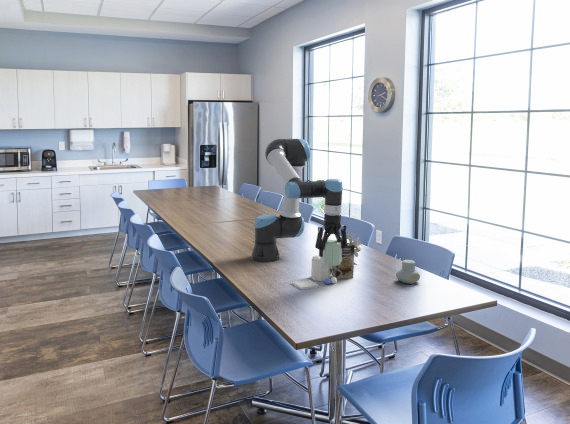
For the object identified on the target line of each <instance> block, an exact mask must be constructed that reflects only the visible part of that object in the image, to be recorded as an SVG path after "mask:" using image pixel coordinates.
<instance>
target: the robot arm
mask: <svg viewBox="0 0 570 424" xmlns="http://www.w3.org/2000/svg"><path fill="white" fill-rule="evenodd" d="M264 156H265V160H266V161H267V163H268V164H269V165H270V166H271V167H273V168H274V170H275V171H276V173H277V174H278V176H279V177H280V179H281V180H282V182H283V183H284V184H283V185H284V187H283V201H282V210H281V211H280V212H279V216H277V214H274V213H273V214H263V215H260V216H257V217H255V220H254V246H253V248H252V252H251V260H253V261H255V262H261V263H262V262H263V263H264V262H266V263H269V262H275V261H279V260H280V252H279V249H278V248H279V247H278V245H277V240H278V239H288V238H289V239H291V238H292V239H293V238H299V237H300V236H301V235H302V234H303V233H304V229H305V219H304V217H303V216H302V213H301V212H300V211H299V210H300V200H301V199H317V198H319V199H320V198H323V199H324V215H323V217H324V220H323V223H324V225H323V226H318V227H317V236H316V242H315V245H314V247H315V248H316V249H317V250H318V256H320V263H322V264H325V250H323V249H324V247H325V243H326V242H327V240H329V237H330V236H331V235H334V236H335V240H337V241H339V242H341V261H342V254H343V248H345V246H347V243H348V239H347V237H346V234H347V225H346V224H341V222H342V215H341V213H342V202H343V181H342V179H337V178H328V179H326V180H324V179H317V180H316V181H315V180H314V181H313V180H311V181H303V180H302V173H303V172H302V171H303V168H304V167H305V166H306V163H307V162H309V160H310V158H311V149H310V144H309V143H308V141H307V140H306V139H302V138H277V139H274V140H272V141H271V142H269V143H268V144H267V146H266V148H265V152H264ZM339 230H340V231H339ZM341 237H342V239H341ZM341 261H340V262H341Z"/></svg>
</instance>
